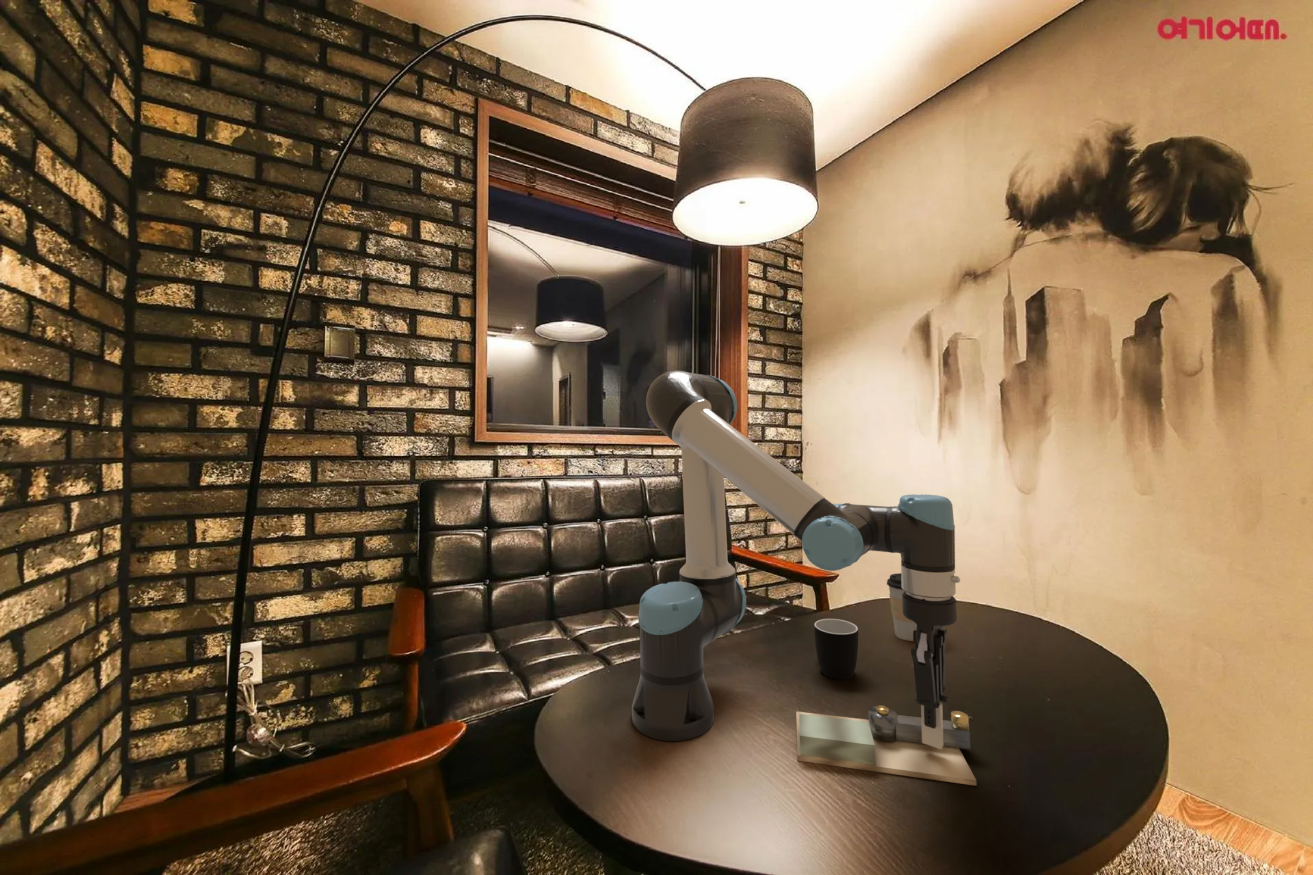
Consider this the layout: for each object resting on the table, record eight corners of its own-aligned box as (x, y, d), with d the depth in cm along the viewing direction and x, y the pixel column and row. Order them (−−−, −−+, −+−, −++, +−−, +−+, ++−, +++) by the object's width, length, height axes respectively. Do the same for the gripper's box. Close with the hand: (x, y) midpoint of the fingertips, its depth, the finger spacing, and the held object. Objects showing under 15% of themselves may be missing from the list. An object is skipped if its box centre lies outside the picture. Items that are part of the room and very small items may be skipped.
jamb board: (797, 760, 78) (796, 736, 78) (796, 715, 91) (795, 694, 91) (976, 785, 71) (975, 759, 71) (948, 733, 84) (947, 711, 84)
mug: (868, 679, 103) (867, 631, 104) (830, 685, 101) (829, 636, 101) (834, 655, 115) (833, 612, 115) (800, 660, 113) (799, 616, 113)
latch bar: (871, 739, 81) (870, 711, 81) (867, 724, 85) (866, 698, 85) (973, 752, 77) (973, 723, 77) (964, 736, 81) (963, 708, 81)
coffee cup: (879, 632, 128) (878, 574, 128) (908, 627, 131) (907, 570, 131) (908, 646, 119) (906, 584, 119) (938, 640, 122) (937, 580, 122)
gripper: (947, 609, 70) (952, 775, 70) (963, 587, 80) (967, 733, 80) (891, 599, 75) (895, 754, 75) (912, 580, 85) (916, 717, 85)
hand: (932, 743), depth 78 cm, fingers closed
